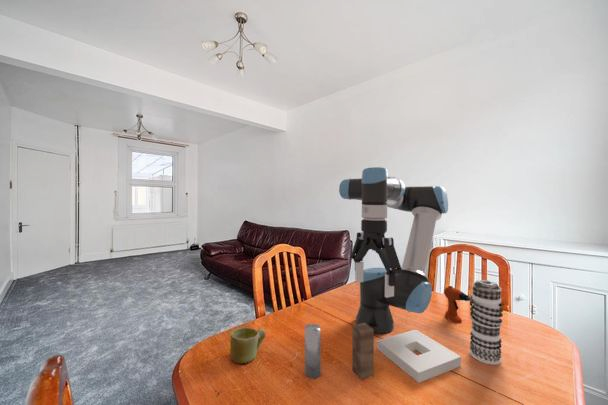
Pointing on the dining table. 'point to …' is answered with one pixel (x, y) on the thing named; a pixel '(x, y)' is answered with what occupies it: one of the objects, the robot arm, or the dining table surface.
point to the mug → (245, 344)
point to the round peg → (312, 350)
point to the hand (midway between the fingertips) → (373, 288)
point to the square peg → (363, 350)
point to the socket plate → (418, 366)
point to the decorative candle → (486, 322)
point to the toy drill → (454, 303)
